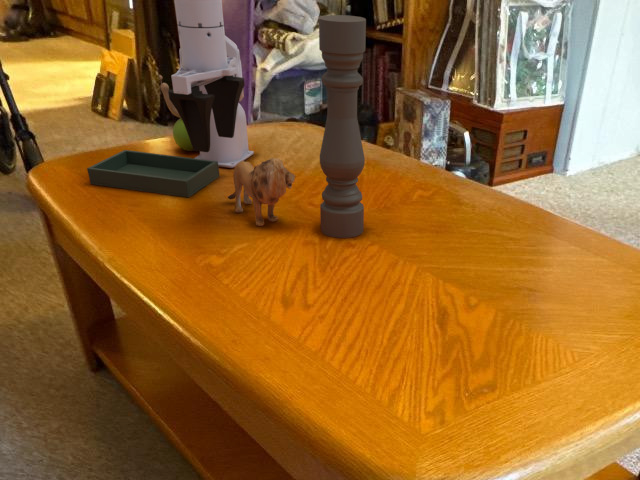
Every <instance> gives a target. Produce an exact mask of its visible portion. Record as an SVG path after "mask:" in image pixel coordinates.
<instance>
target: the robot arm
mask: <svg viewBox="0 0 640 480" xmlns="http://www.w3.org/2000/svg"><path fill="white" fill-rule="evenodd" d="M173 2H174V8H175V9H174V10H175V17H176V24H177V32H178V41H179V47H180V48H179V52H178V53H179V69H178V70H177V71H176V73H173V74H171V83H172V89H171V88H170V89H169V91H168V94H169V99H170V101H171V102H172V104H173V105H174V106H175V108H176V110H177V111H178V113H179V115H180V117H181V118H180V119H182V121H183V123H184V125H185V128H186V131H187V133H188V136H189V139H190V142H191V144H192V147H193V149H194V151H193V152H199V155H197V156H195V157H194V158H195V159H203V160H211V161H218V167H221V168H229V169H233V168H235V166H236V165H237V164H238V163H239V162H241V161H246V160H247V159H248V158H250V157H251V156H253V155H254V154H255V153H254V151H253V150H250V148H249V137H248V136H249V135H248V125H247V114H246V112H245V109H244V108H243V106H242V105H241V104H240V102H242V100H243V99H244V98H245V91H244V88H245V78H243V69H242V68H243V67H242V60H241V56H240V55H241V54H240V49H239V48H238V45H237V44H236V43H235V42H234V41H233V40H232V39H231V38H229V37H228V36H227V35H226V33H225V32H226V31H225V23H224V11H223V2H222V0H173Z"/></svg>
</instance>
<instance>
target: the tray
mask: <svg viewBox="0 0 640 480" xmlns="http://www.w3.org/2000/svg"><path fill="white" fill-rule="evenodd" d="M86 170H87V175H88V178H89V183H90V185H93V186H100V187H102V186H103V187H109V188H117V189H123V190H129V191H138V192H145V193H152V194H160V195H168V196H174V197H181V198H190V197H192V196H193V195H195V194H197V193H198V192H199V191H200V190H203V188H205V187H207V186H208V185H209V184H211V183H213V182H214V181H216V180H217V179H218V178H220V169H219V166H218V161H211V160H203V159H195V157H187V156H186V157H185V156H178V155H170V154H163V153H155V152H146V151H138V150H129V149H123V150H121V151H119V152H117V153H115V154H113V155H111V156H109V157H107V158H105V159H103V160H101V161H99V162H97V163H95V164H93V165H91V166H89V167H87V168H86Z"/></svg>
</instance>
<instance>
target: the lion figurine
mask: <svg viewBox="0 0 640 480" xmlns="http://www.w3.org/2000/svg"><path fill="white" fill-rule="evenodd" d="M232 177H233V185H234V192H233V193H232V194H231V193H230V194H229V195H228V196H227V199H228V200H234V201H235V209H234V212H235V213H237V214H240V213H243V211H244V209H243V207H242V203H241V201H242V200H241V199H242V198H241V195H242V190H243V202H244V204H245V205H251V204H252V203H253V204H252V205H253V209H254V215H255V225H256V227H263V226H264V225H265V222H264V220H265V219H264V217H263V214H262V205H267V219H268V220H269V221H270V222H277V221H278V220H279V218H278V216H277V215H275V214H274V209H275V205H276V204H277V203H278V202H279V201H280V198H282V197H283V196H284V195H285V194H286V192H287V189H289V190H290V189H292V187H293V184H294V182H295V178H296V174H295V173H293V172H291V171H290V170H289V169H288V168H287V167H286V166H284V161H283V159H281V158H278V157H277V158H275V157H274V158H272V157H271V158H269V159H267V160H265V161H261V163H259V164H257V165H255V166H254V165H253V164H252V163H251V162H249V161H246V160H244V161H241V162H239V163H238V164H237V165H236V166H235V167H234V169H233V176H232Z"/></svg>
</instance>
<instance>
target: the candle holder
mask: <svg viewBox="0 0 640 480" xmlns="http://www.w3.org/2000/svg"><path fill="white" fill-rule="evenodd" d="M366 33H367V19H366V18H365V17H362V16H355V15H347V14H346V15H344V14H330V15H329V14H328V15H321V16H319V17H318V48H319V49H318V50H319V51H321V58H322V60H323V62H324V66H325V67H326V72H324V73H323V74H322V76H321V82H322V84H323V85H324V86H325V89H326V92H327V93H326V97H327V98H326V99H327V101H326V102H327V104H326V105H327V106H326V107H327V109H326V111H327V115H326V121H325V126H324V132H323V137H322V142H321V146H320V152H319V164H320V168H321V171H322V173H323V175H325V176H326V177H325V181H326V183H327V184H326V186H325V188H324V190H323V191H322V193H321V200H322V202H321V203H320V204H319V205H320V207H319V209H320V232H321V233H322V234H323V235H325V236H327V237H331V238H338V239H349V238H355V237H358V236H360V235H362V234H363V233H364V222H365V221H364V220H365V219H364V218H365V207H364V204H363V203H362V202H361V201H362V200H363V194H362V192H361V191H360V188H359V186H358V185H357V183H358V182H359V178H358V177H360V175H361V174H362V172H363V171H364V168H365V164H366V163H365V162H366V158H365V153H364V147H363V142H362V137H361V132H360V131H361V130H360V126H359V120H358V90H359V89H360V86H362V85H363V83H364V78H363V76H362V75H361V74H360V73H359V72H358V70H359V68H360V67H361V66H360V65H361V63H362V62H363V59H364V52H366V42H367V41H366V37H367V36H366V35H367V34H366Z"/></svg>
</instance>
